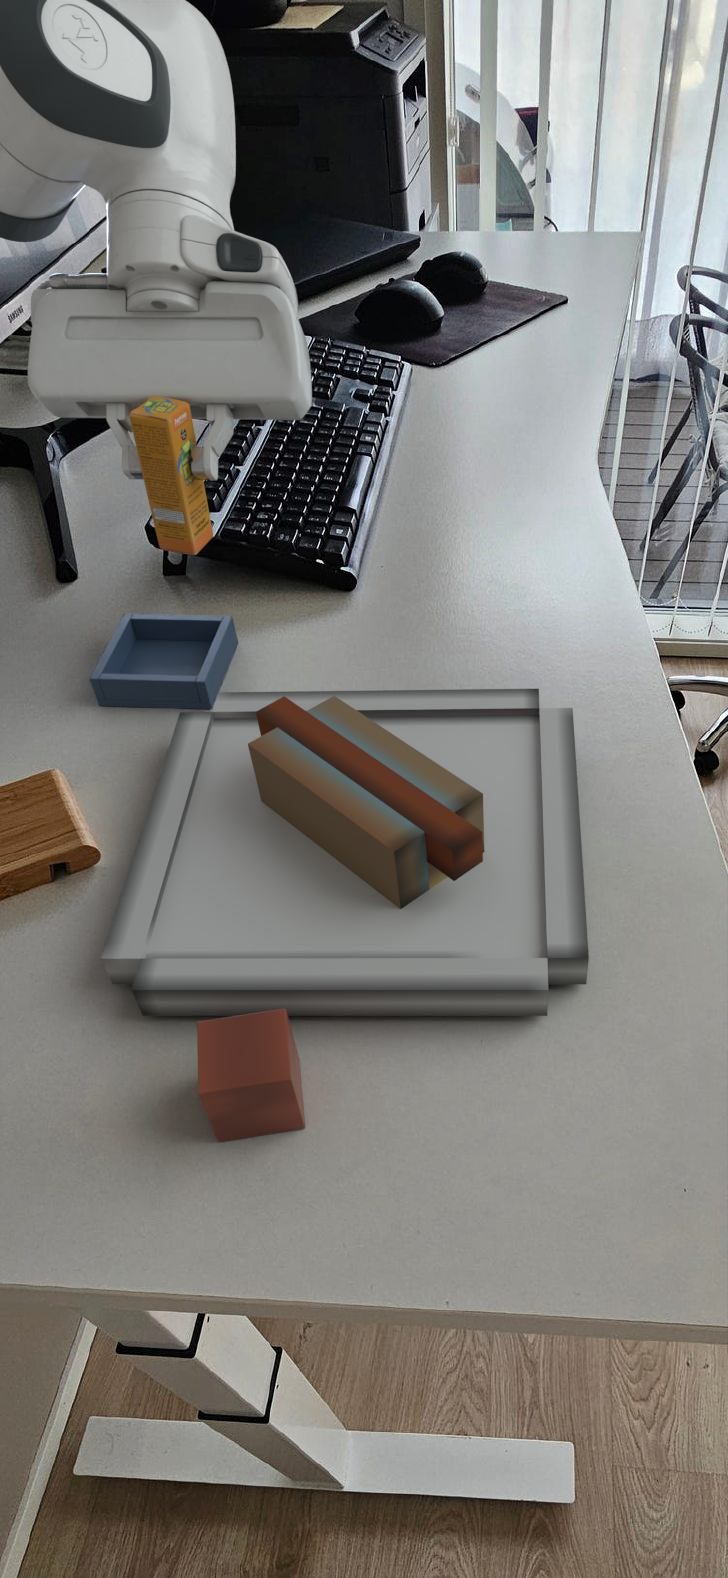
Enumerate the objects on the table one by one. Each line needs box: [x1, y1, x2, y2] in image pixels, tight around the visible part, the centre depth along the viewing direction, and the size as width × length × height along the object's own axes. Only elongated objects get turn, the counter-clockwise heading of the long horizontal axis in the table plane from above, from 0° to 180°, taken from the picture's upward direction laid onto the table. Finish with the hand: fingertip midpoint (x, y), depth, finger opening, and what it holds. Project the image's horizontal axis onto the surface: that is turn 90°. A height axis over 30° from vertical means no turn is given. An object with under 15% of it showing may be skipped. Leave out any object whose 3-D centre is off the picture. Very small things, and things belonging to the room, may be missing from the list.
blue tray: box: [88, 613, 239, 710], centre depth 87 cm, size 10×10×3 cm
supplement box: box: [129, 397, 214, 556], centre depth 77 cm, size 3×3×10 cm
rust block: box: [196, 1009, 306, 1143], centre depth 59 cm, size 5×5×5 cm
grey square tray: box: [99, 688, 590, 1017], centre depth 70 cm, size 30×30×8 cm
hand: (170, 477), depth 76 cm, fingers closed on supplement box, 4 cm apart
